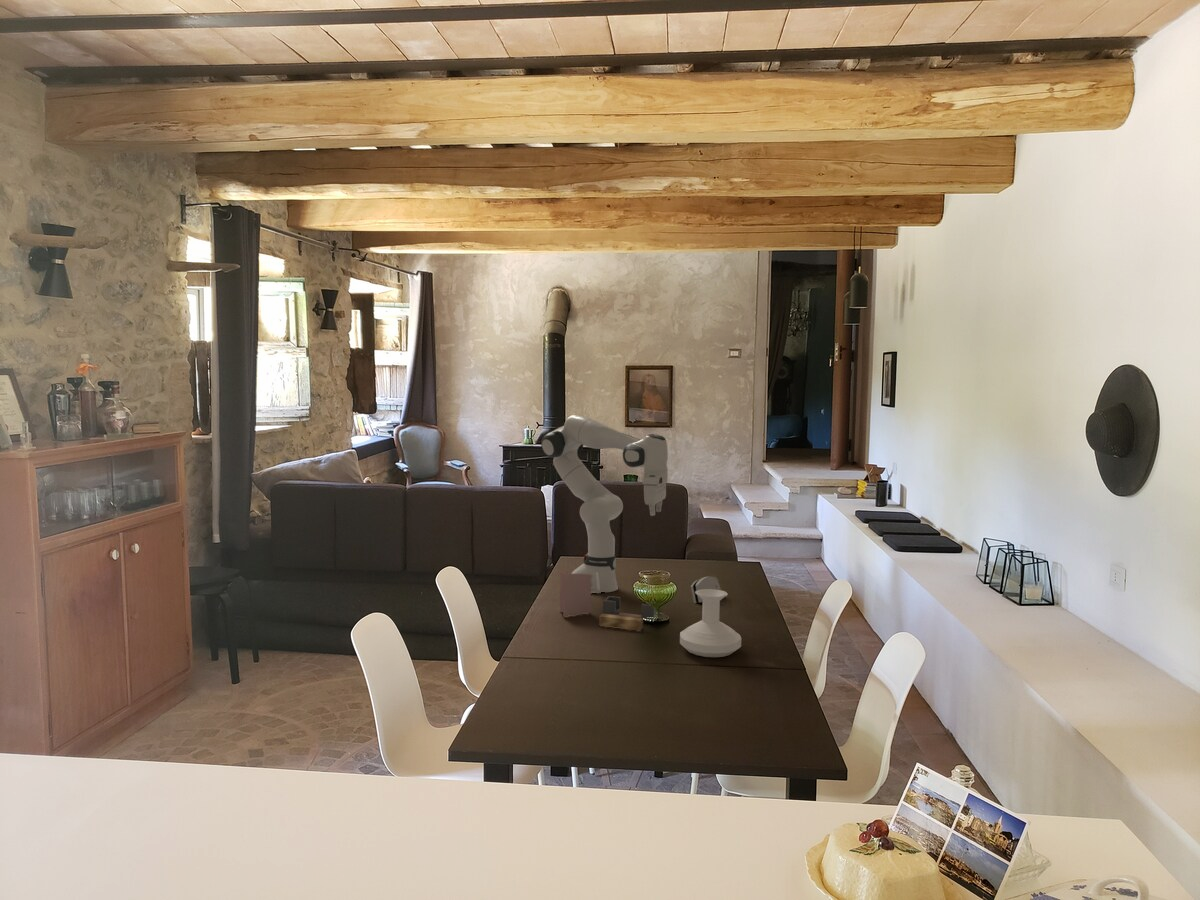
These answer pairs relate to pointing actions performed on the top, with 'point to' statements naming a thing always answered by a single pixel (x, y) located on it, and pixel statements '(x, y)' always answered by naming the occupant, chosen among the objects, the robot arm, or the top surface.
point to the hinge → (704, 586)
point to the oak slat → (621, 621)
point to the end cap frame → (613, 608)
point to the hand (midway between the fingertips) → (655, 513)
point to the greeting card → (575, 593)
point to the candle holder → (710, 629)
